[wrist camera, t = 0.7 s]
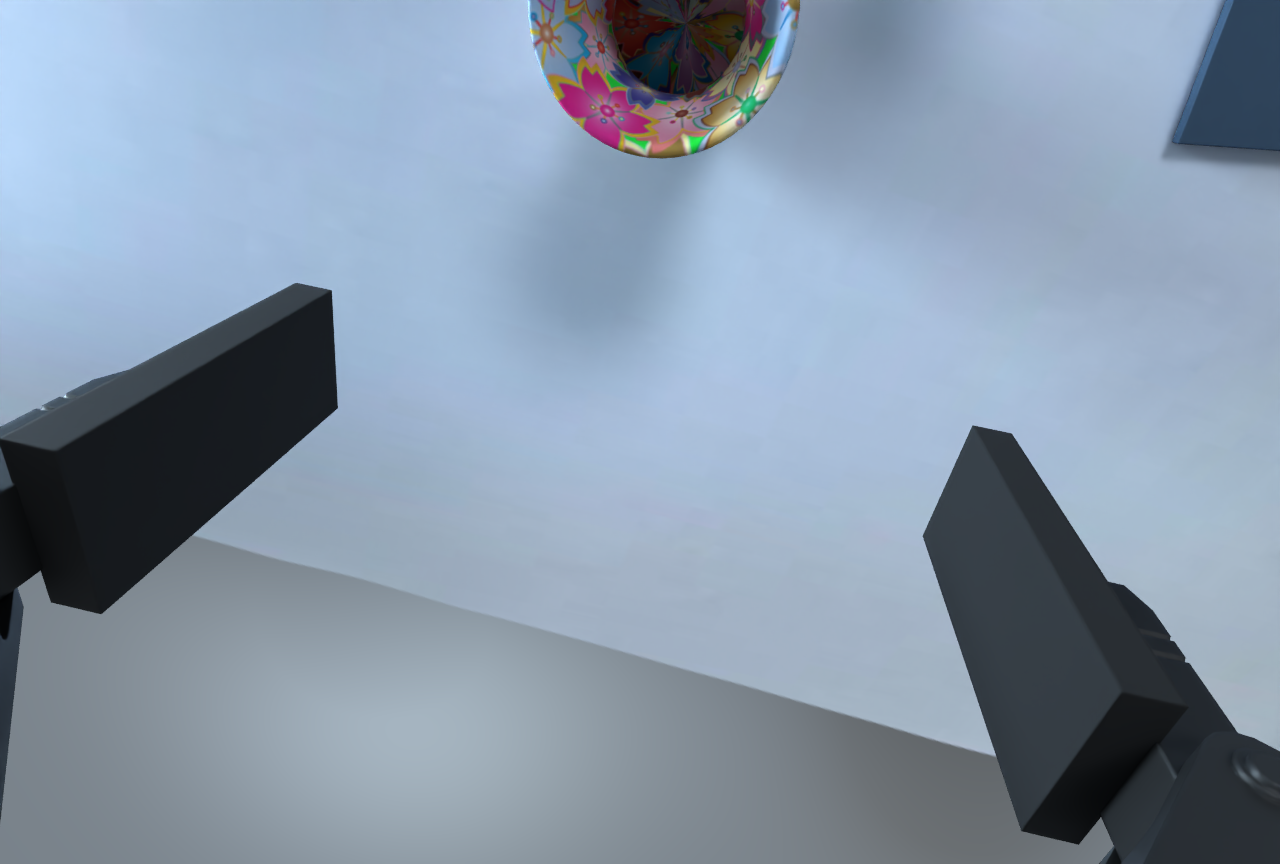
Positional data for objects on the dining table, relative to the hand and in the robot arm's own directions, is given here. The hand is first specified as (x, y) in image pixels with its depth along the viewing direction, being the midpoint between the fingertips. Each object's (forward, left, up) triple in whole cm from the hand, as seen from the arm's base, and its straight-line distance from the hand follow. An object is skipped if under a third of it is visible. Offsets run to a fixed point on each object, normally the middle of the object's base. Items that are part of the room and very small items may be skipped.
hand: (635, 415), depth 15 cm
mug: (-8, -3, -26) cm, 27 cm away
